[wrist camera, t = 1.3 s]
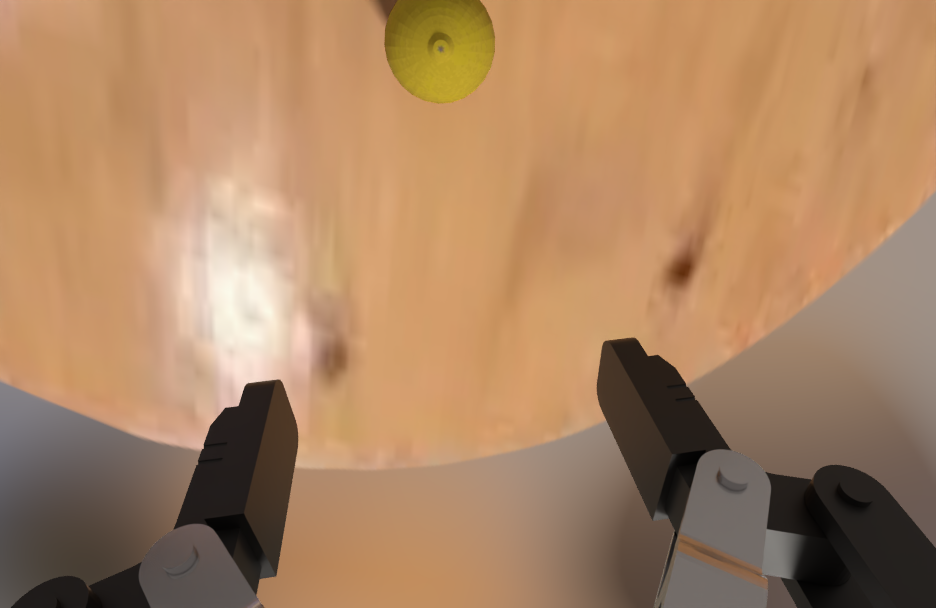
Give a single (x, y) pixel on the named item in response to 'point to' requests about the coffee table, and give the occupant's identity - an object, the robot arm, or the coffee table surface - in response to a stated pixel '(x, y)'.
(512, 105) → the coffee table surface
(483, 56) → the lemon
